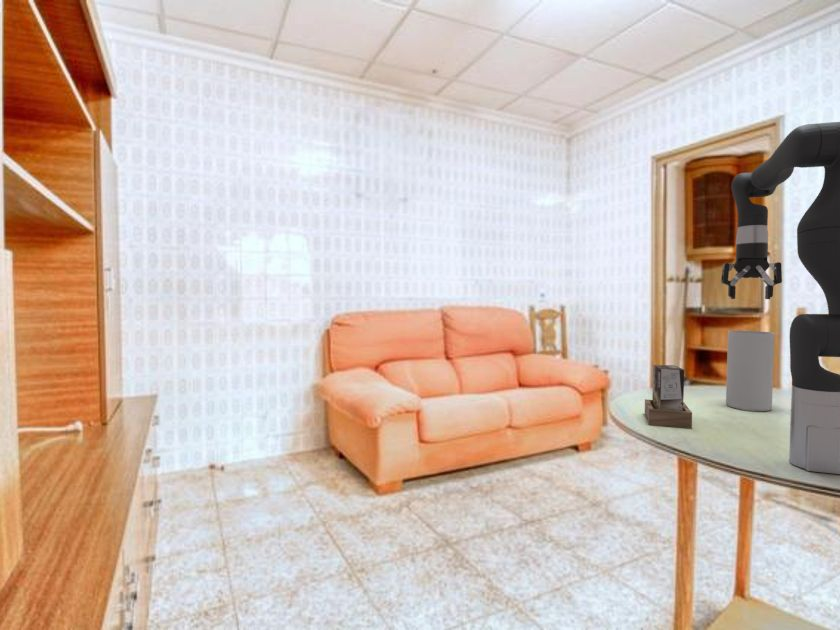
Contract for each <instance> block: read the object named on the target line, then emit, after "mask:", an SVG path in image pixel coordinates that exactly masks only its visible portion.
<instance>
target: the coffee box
mask: <svg viewBox="0 0 840 630" xmlns="http://www.w3.org/2000/svg"><path fill="white" fill-rule="evenodd" d="M685 371H686V370H685V369H684V368H681V367H679V366H676V365H673V364H671V365H670V364H663V365H662V364H661V365H659V364H653V365H652V396H651V397H652V398H651V400H652V407H653V409H662V410H675V411H683V402H684V395H685V394H684V392H685V391H684V390H685Z"/></svg>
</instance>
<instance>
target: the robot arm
mask: <svg viewBox="0 0 840 630" xmlns="http://www.w3.org/2000/svg"><path fill="white" fill-rule="evenodd" d="M819 167H823V169H824V178H823V183H822V187H821V189H820V191H819V192H818V195H817V196H816V198H815V199H814V200H813V202H812V203H811V204H810V206H809V207H808V209H807V210H805V213H803V215H802V217H801V218H800V220H799V222H798V224H797V229H796V244H797V245H796V246H797V250H796V251H797V255H798V258H799V260H800V262H801V264H802V265H803V267H804V268H805V269H806V271H807V272H808V273H809V275H810V276H811V277H812V278H813V279H814V280H815V281H816V283H817V284H818V285H819V286H820V288H821V289H822V290H821V291H822V292H823V294H824V296H825V301H826V304H827V312H828V313H803V314H798V315H796V316H795V317H794V318H793V320H792V322H791V324H790V328H789V354H790V355H789V357H790V359H789V360H790V361H789V363H790V364H789V366H790V367H789V369H790V374H791V398H790V400H791V401H790V422H789V426H790V427H789V451H788V452H789V454H788V455H789V457H788V458H789V459H788V462H789V463H790V464H791V465H794V466H795V467H798V468H801V469H804V470H806V471H807V472H817V473H826V474H834V475H840V374H839V373H836V372H833V371H830V370H827V369H825V368H824V367H823V366H821V364H820V357H821V358H822V357H825V358H840V121H831V122H820V123H817V122H816V123H808V124H803V125H800V126H798V127H795V128H794V129H792V131H790V132H789V133H788V134H787V135H786V136H785V138H784V139H783V141H781V143H780V144H779V145H778V147H777V148H776V149H775V150H774V152H773V153H772V155H771V156H770V157H769V158H768V159H767V160H765V161H764V162H762V163H761V164H760V165H758V166H757V167H756V168H755V169H754V170H753V171H751V172H741V173H738V174H737V175H736V176H735V177H734V178H733V180H732V182H731V192H732V196H733V198H734V202H735V206H736V210H737V232H736V237H735V238H736V240H735V262H734V263H728V262H726V263H723V264H722V269H721V270H722V271H721V280H720V283H721V284H722V285H727V286H728V289H727V290H728V291H727V295H728V297H729V298H730V299H731V300H735V299H736V290H737V289H736V288H737V287H736V285H737V283H738V282H739V281H740V280H741V279H742V278H743V279H750V278H752V279H758V278H759V279H760V280H762V282H763V283H764V284H766V286H765V291H764V298H765V300H771V298H772V297H774V286H775V285H778V284H779V285H780V284H782V283H783V277H782V276H783V275H782V273H783V272H782V270H783V269H782V262H780V261H779V262H778V261H776V262H771V263H770V262H769V261H768V254H769V230H768V229H769V228H768V226H769V225H768V222H769V221H768V219H769V208H768V207H767V206H766V205H763V204H757V203H754V202H753V201H752V200H751V199H750V198H766V197H769V196H771V195H773V194H774V192H775V191H776V189H777V187H778V186H779V185H781V184H783V183H785V182H786V181H787V180H789V178H790V177H791V176H792V175H793V173H794V169H795V168H802V169H803V168H819ZM769 268H770V270H771V271H773V280H772V279H771V278H770V275H769V274H768V273H767V272H766V271H767V270H768V269H769ZM733 269H734V270H735V271H736V273H735V275H734V276H733V277H731V280H729V274H730V272H731V271H732V270H733Z"/></svg>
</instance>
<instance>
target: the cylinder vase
mask: <svg viewBox="0 0 840 630" xmlns="http://www.w3.org/2000/svg"><path fill="white" fill-rule="evenodd" d="M774 349H775V332H770V331H760V330H759V331H757V330H755V331H754V330H728V331H727V349H726V350H727V353H726V355H727V356H726V357H727V358H726V361H727V362H726V384H725V385H726V386H725V387H726V388H725V392H726V393H725V396H726V397H725V403H726V405H727V406H728V407H730V408H732V409H736V410H741V411H748V412H759V413H760V412H769V411H771V410H772V407H773V389H774V388H773V384H774V356H775V355H774V354H775V353H774V352H775V350H774Z"/></svg>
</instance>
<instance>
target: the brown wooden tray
mask: <svg viewBox="0 0 840 630" xmlns="http://www.w3.org/2000/svg"><path fill="white" fill-rule="evenodd" d="M644 416H645V419H646V422H647V424H648V425H649V426H657V427H668V428H679V429H690V430H692V429H693V412H692V411H691V409H690V408H689V407H688V406H687V404H686V403H685V402H684V401H683V411H675V410H662V409H653V407H652V399H646V398H645V399H644Z"/></svg>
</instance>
